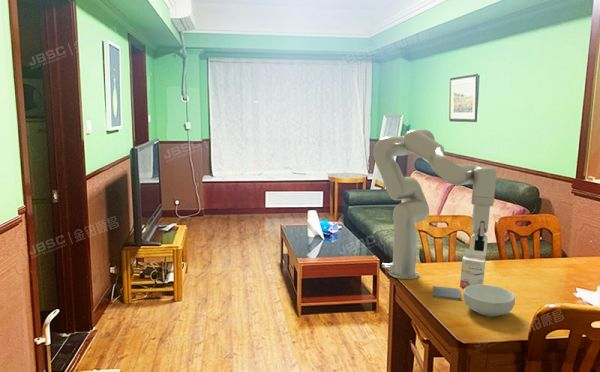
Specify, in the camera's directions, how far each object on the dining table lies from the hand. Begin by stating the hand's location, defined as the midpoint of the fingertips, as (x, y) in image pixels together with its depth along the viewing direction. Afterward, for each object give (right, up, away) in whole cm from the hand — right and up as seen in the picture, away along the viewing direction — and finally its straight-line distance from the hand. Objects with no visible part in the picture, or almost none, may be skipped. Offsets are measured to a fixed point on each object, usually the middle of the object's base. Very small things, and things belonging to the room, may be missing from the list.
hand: (478, 248), depth 174 cm
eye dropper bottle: (0, -3, 0) cm, 3 cm away
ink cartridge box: (+2, -17, +13) cm, 22 cm away
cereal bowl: (-1, -21, -11) cm, 23 cm away
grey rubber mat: (-10, -18, +5) cm, 21 cm away
